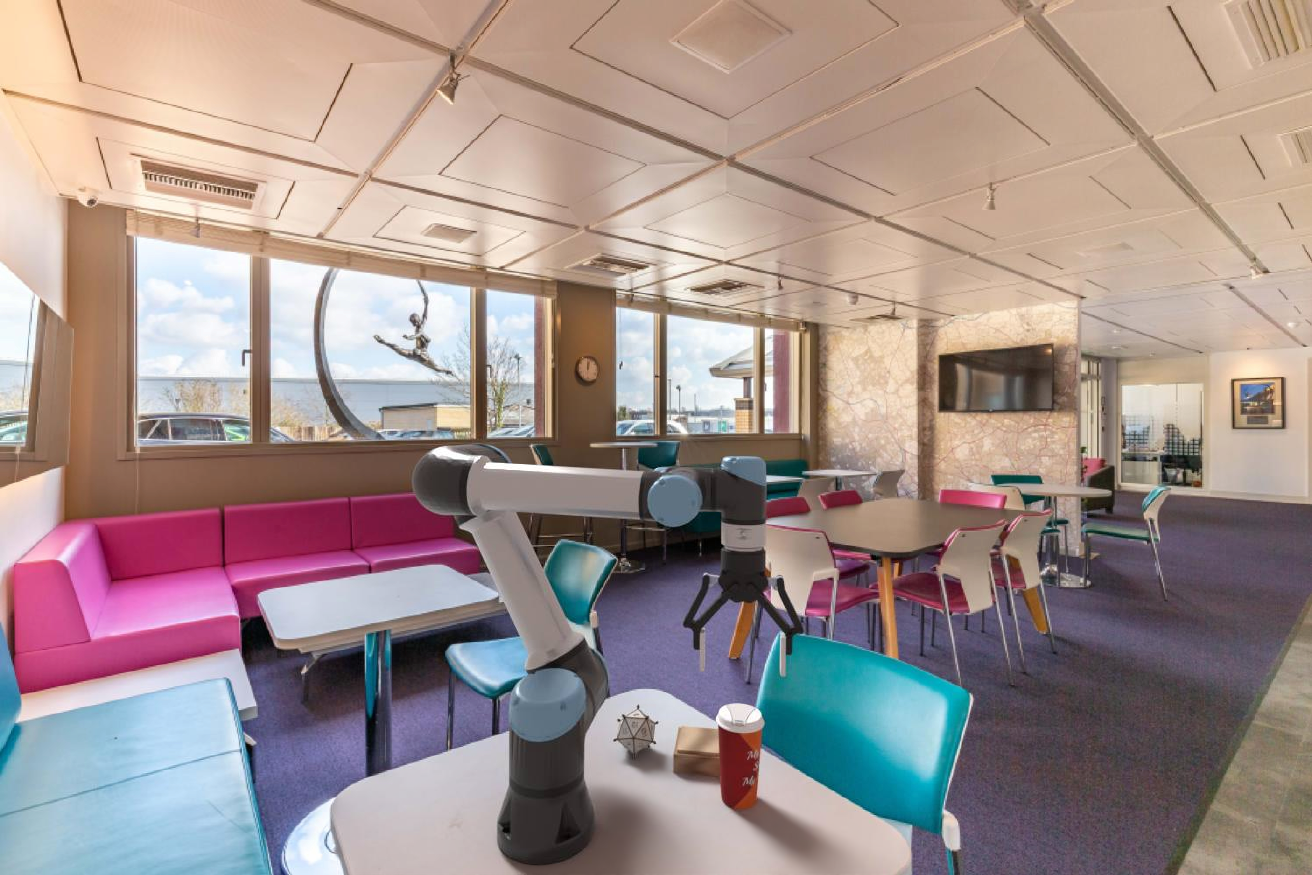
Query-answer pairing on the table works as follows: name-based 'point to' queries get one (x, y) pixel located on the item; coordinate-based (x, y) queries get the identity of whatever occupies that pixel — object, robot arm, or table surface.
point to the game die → (636, 731)
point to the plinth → (697, 751)
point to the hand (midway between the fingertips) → (742, 670)
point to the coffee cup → (739, 754)
